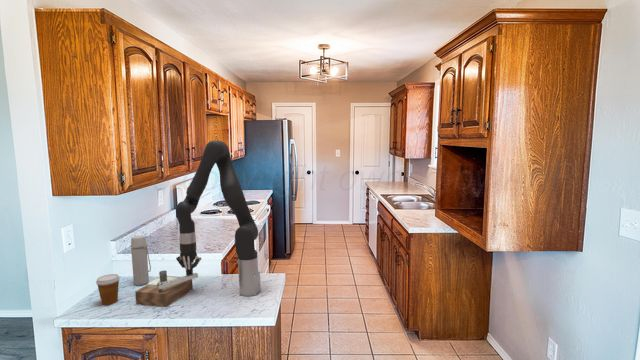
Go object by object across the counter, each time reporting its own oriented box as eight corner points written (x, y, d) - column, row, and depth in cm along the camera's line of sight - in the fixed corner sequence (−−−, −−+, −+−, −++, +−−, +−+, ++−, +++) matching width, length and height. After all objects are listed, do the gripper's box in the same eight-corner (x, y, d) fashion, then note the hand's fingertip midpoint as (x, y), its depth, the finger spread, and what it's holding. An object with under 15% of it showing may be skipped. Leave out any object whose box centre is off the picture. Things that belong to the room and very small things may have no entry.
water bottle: (138, 287, 185) (135, 239, 182) (130, 284, 189) (126, 237, 187) (155, 281, 192) (152, 235, 190) (147, 278, 197) (143, 233, 194)
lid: (179, 280, 176) (178, 268, 175) (165, 288, 166) (165, 275, 165) (161, 279, 178) (160, 267, 178) (147, 287, 168) (146, 274, 168)
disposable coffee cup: (94, 308, 161) (92, 282, 160) (101, 299, 170) (99, 275, 169) (118, 305, 164) (116, 279, 163) (123, 296, 173) (121, 272, 172)
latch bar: (198, 277, 175) (197, 272, 174) (158, 289, 160) (158, 284, 160) (195, 276, 176) (195, 271, 176) (156, 288, 162) (156, 283, 162)
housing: (192, 289, 180) (191, 274, 179) (166, 307, 160) (165, 290, 160) (165, 287, 184) (164, 273, 183) (136, 304, 164) (134, 288, 164)
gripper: (204, 240, 176) (205, 274, 178) (180, 238, 179) (182, 272, 181) (195, 244, 169) (197, 279, 170) (170, 242, 172) (172, 277, 173)
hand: (189, 276), depth 175 cm, fingers closed
